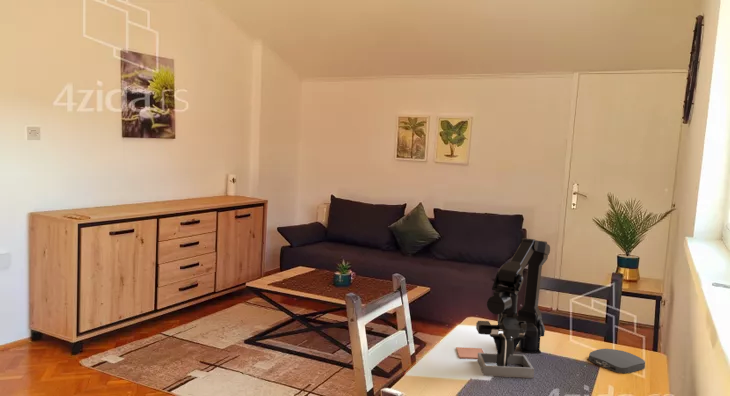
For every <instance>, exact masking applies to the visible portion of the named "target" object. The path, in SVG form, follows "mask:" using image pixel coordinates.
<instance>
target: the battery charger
mask: <svg viewBox="0 0 730 396" xmlns="http://www.w3.org/2000/svg"><path fill="white" fill-rule="evenodd" d="M498 334H499V335H500V339H499V341H500V354H498V352H497V351H496V354H497V362H496V363H495V366H508V364H507V360H508V357H509V356H510V355H512V354H514V353H515V351H514V341H513V339H512V337H505V336H504V335H503V332H500V333H499V332H498Z"/></svg>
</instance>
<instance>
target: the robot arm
mask: <svg viewBox="0 0 730 396" xmlns="http://www.w3.org/2000/svg"><path fill="white" fill-rule="evenodd" d="M550 251H551V246H550V244H548V242H547V241H543V240H536V238H535V239H534V238H525V237H524V238H521V240H520V243H519V246H518V248H517V249H516V251H515V253H514V254H513V256H512V257H511V259H510V261H509V262H507V263H505V264H503V265H502V266H501V267H500V268H499V269H498V271H496V275H495V278H494V281H493V285H492V287H491V290H492V291H493V295H492V296H490V297H489V298H488V299H487V302H486V307H487V309H488V311H489V312H490V313H492V314H493V315H497V324H491V323H490V321H489V320H478V321H477V322H476V324H475V329H476V331H477V333H478V334H480V335H487V336H488V335H489V337H491V338H493V339H492V340H493V341H494V345H495V349H496V353H497V352H498V354H500V341H499V339H500V335H499V332H502V333H503V335H504V336H505V337H511V338H512V339H513V341H514V352H515V351H516V348H517V347H519V349H520V351H521V352H522V353H531V354H541V353H542V351H541V350H540V349H541V347H540V346H541V337H545V332H546V331H545V330H546V327H545V325H544V322H543V320H542V319H543V317H542V315H543V314H542V312H541V310H540V308H539V299H540V298H539V297H540V289H541V279H542V278H541V277H542V269H543V265H544V264H545V263H546V262H547V261H548V260H549V259H548V257H549V255H550ZM526 266H527V273H526V274H527V275H526V283H525V292H524V302H523V303H524V304H523V305H522V307H521V308H520V309H519V310H518V301H519V300H518V299H519V295H518V294H519V292H520V291H521V289H522V286H523V283H524V276H523V275H524V274H523V273H524V269H525V268H526ZM513 354H514V353H513ZM513 354H512V355H513Z"/></svg>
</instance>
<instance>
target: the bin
mask: <svg viewBox="0 0 730 396" xmlns="http://www.w3.org/2000/svg"><path fill="white" fill-rule="evenodd" d="M476 360H477V361H476V362H477V364H478V366H479V368H480V370H481V373H482V375H483V376H486V377H506V378H524V379H525V378H528V379H534V376H535V368H534V366H533V365H532V364H531V362H530V360H529V358H528V357H527V356H526V355H525V354H518V353H517V354H514V353H513V355H510V356H509V357H508V360H507V366H497V365H487V363H488V364H496V362H497V352H496V353H491V352H484V353H478V359H476ZM509 364H510V365H522V366H523V367H522V366H508V365H509Z"/></svg>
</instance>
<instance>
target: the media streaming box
mask: <svg viewBox="0 0 730 396" xmlns="http://www.w3.org/2000/svg"><path fill="white" fill-rule="evenodd" d="M588 360H589V362H591V363H593V364H595V365H596V366H599V367H602V368H604V369H607V370H609V371H612V372H614V373H619V374H630V373H635V372H638V371H642V370H644V369H645V368H646V361H645V359H643V358H641V357H640V356H637V355H636V354H633V353H630V352H627V351H624V350H619V349H614V348H613V349H612V348H599V349H595V350H593V351H590V352H589V356H588Z"/></svg>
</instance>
